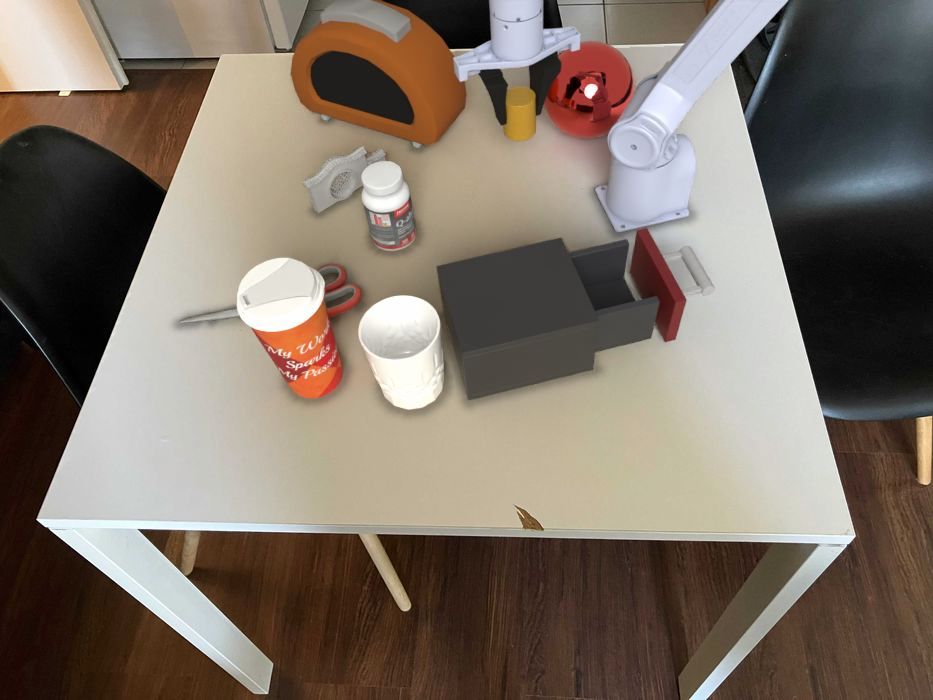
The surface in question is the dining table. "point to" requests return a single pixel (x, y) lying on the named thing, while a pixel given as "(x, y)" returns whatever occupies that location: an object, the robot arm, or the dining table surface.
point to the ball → (590, 90)
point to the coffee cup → (292, 324)
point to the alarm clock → (379, 71)
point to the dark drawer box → (518, 317)
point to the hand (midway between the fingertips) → (518, 115)
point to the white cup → (404, 349)
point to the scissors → (330, 294)
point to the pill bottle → (388, 206)
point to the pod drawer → (654, 281)
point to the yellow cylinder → (520, 113)
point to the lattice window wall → (331, 169)
